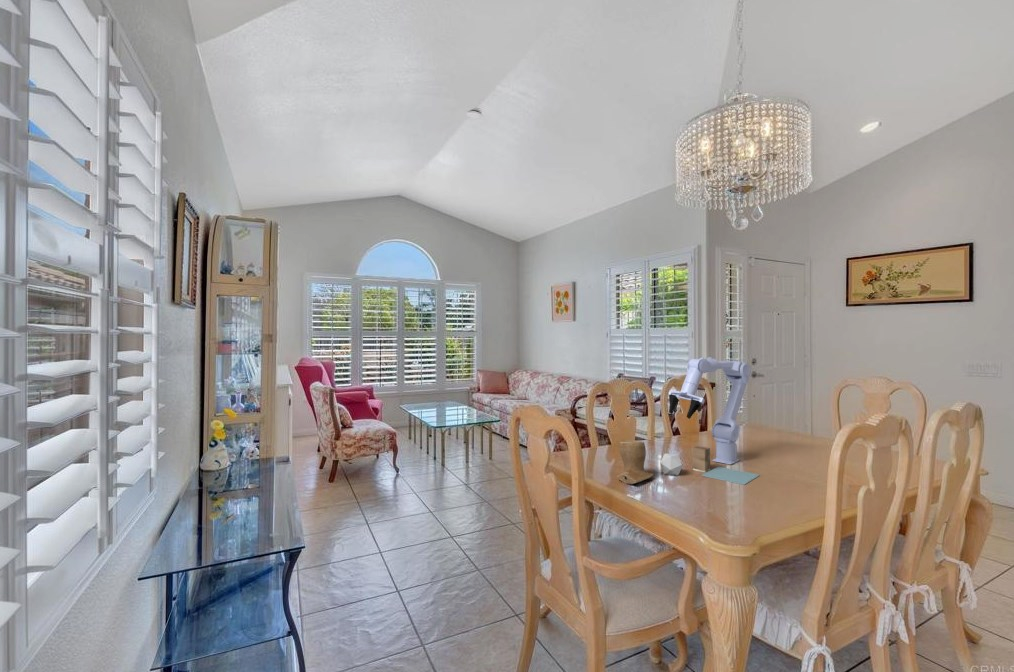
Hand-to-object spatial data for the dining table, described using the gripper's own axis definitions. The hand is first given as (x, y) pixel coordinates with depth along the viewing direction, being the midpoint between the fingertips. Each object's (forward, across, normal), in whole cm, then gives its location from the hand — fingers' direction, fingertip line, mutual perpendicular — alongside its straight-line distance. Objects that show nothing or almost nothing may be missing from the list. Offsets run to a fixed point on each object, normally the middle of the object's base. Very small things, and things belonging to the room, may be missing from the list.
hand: (679, 415), depth 190 cm
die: (+23, +2, +6) cm, 24 cm away
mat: (+14, +19, +18) cm, 30 cm away
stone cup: (+32, -4, -8) cm, 33 cm away
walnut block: (+15, +8, +18) cm, 25 cm away
